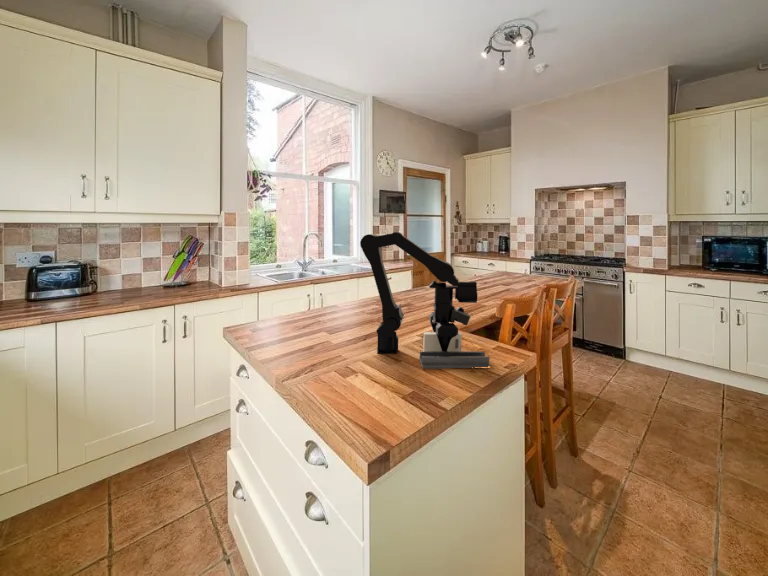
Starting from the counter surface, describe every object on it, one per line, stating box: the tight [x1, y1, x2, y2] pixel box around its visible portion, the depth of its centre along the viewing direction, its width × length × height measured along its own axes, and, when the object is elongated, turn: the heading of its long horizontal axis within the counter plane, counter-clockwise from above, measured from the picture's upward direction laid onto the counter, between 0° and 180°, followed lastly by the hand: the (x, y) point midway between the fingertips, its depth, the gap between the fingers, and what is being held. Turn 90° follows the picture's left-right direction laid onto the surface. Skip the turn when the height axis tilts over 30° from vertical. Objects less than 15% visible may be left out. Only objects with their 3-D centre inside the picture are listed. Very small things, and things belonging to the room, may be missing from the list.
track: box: [419, 350, 492, 370], centre depth 108 cm, size 20×8×3 cm, turn 91°
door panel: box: [422, 331, 463, 351], centre depth 116 cm, size 12×3×7 cm, turn 91°
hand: (441, 348), depth 117 cm, fingers open, 9 cm apart
